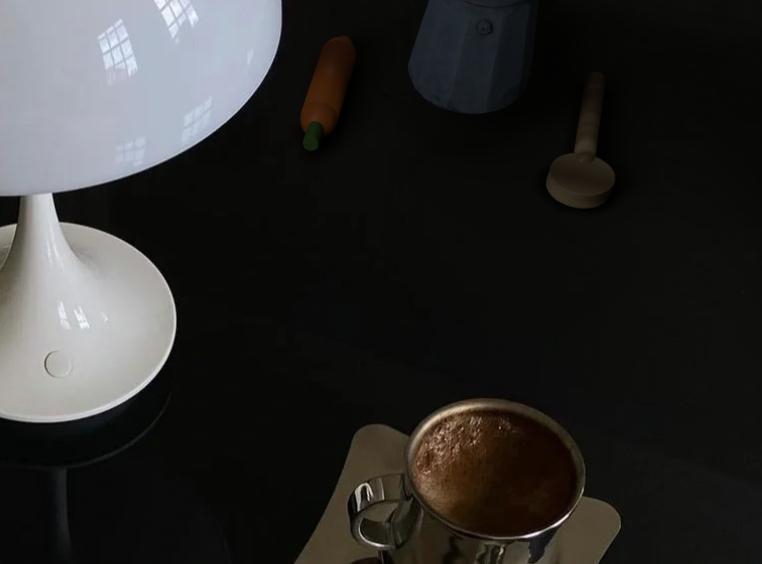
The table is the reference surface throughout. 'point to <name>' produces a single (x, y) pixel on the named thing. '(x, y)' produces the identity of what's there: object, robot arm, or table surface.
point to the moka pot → (474, 53)
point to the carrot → (327, 90)
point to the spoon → (584, 156)
